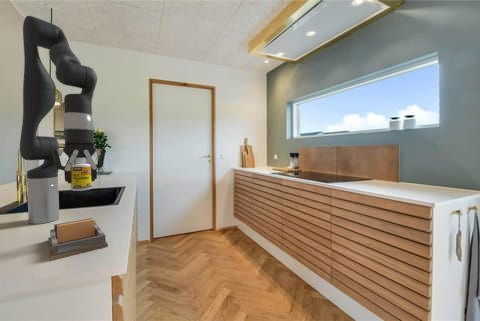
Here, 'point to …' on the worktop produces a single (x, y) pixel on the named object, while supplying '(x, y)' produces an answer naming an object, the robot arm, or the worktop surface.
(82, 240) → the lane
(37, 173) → the robot arm
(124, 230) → the worktop surface
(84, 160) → the supplement bottle
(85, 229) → the board
